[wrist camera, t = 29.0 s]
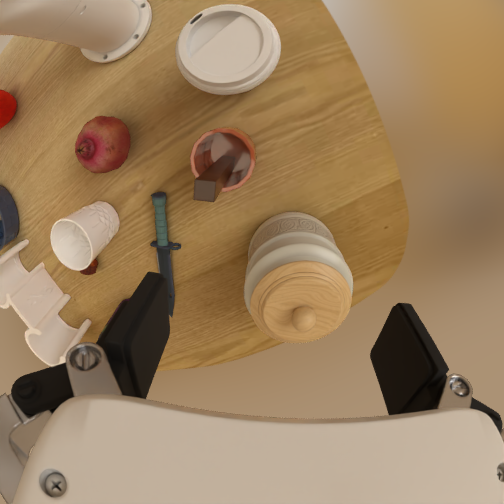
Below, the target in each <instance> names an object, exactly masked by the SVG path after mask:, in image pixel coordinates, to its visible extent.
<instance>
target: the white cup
mask: <svg viewBox="0 0 504 504" xmlns="http://www.w3.org/2000/svg"><path fill="white" fill-rule="evenodd" d="M119 224H120V222H119V218H118V214H117V212H116V211H115V209H114V208H113V206H111V205H110V204H108V203H107V202H103V201H97V202H95V203H93V204H91V205H88V206H85V207H83V208H80V209H79V210H77V211H75V212H73V213H71V214H69V215H67V216H66V217H64V218H62V219H60V220H58V221H57V222H56V223H55V224H54V225H53V227H52V229H51V235H50V239H51V245H52V248H53V251H54V253H55V255H56V256H57V258H58V259H59V260H60V262H61V263H62V264H64V265H65V266H66V267H68V268H70V269H72V270H77V271H80V270H84V269H86V268H87V267H88V266H89V265H90V264H91V263H92V261H93V260H94V259H95V258H96V257H97V256H98V255H99V254H100V252H101V251H102V250H103V249H104V248H105V247H106V246H107V244H108V243H109V242H110V240H111V239H112V238H113V237H114V236H115V234H116V233H117V232H118V229H119Z"/></svg>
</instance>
